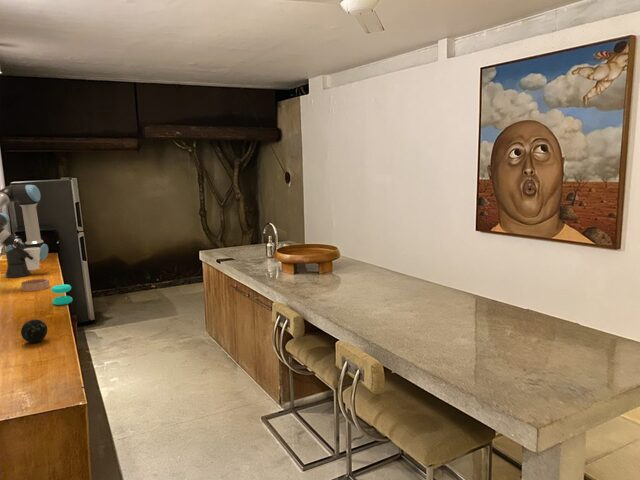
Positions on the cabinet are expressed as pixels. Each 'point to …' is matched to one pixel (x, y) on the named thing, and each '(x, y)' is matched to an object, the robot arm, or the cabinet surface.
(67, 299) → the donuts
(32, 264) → the foam cup
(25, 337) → the decorative stone
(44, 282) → the bowl
